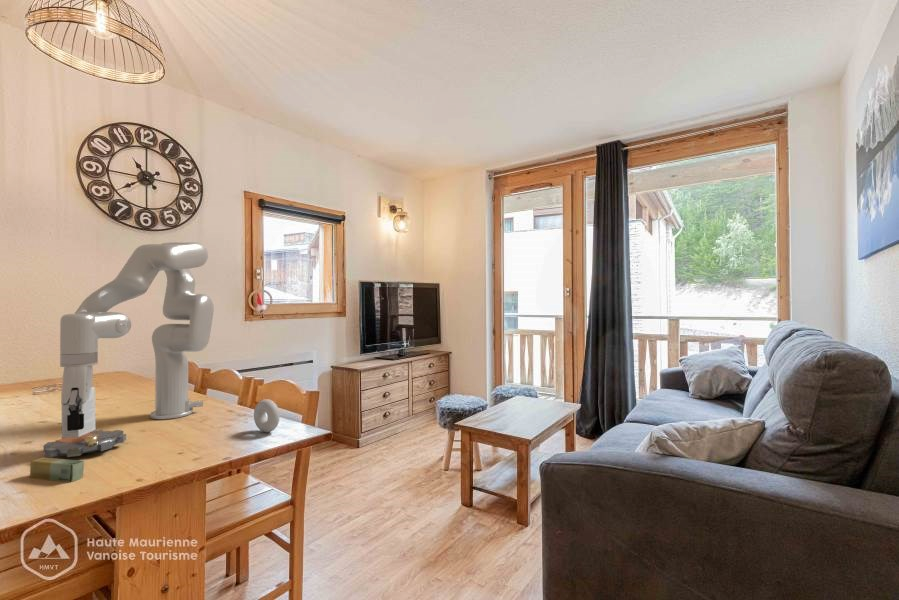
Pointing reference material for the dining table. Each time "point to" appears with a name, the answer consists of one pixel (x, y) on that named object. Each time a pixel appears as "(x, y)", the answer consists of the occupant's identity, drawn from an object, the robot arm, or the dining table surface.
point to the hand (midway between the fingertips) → (79, 425)
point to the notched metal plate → (84, 443)
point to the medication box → (57, 469)
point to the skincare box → (88, 417)
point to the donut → (272, 414)
